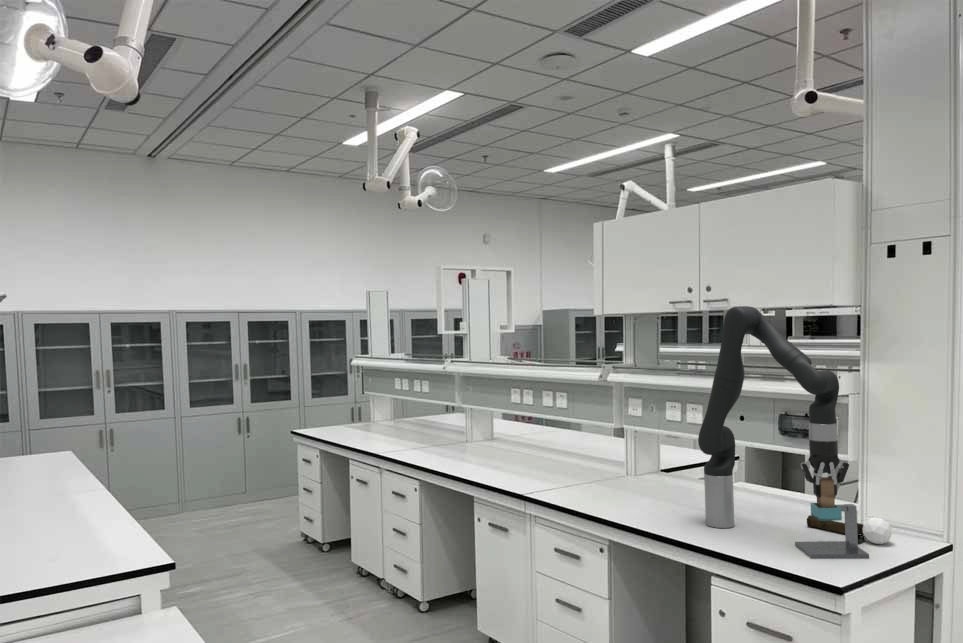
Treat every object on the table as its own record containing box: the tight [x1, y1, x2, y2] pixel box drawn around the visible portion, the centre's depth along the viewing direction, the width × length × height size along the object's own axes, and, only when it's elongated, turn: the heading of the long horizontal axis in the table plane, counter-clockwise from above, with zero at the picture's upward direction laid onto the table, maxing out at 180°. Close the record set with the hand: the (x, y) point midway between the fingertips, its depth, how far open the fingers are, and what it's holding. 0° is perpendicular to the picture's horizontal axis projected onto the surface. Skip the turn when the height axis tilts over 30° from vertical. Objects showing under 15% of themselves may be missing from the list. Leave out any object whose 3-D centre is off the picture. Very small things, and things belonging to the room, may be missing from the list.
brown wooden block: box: [816, 476, 836, 508], centre depth 201 cm, size 4×4×10 cm
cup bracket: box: [794, 502, 870, 560], centre depth 201 cm, size 12×16×14 cm
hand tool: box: [806, 514, 868, 540], centre depth 219 cm, size 19×4×5 cm, turn 32°
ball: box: [862, 517, 893, 545], centre depth 208 cm, size 8×8×8 cm
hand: (825, 496), depth 201 cm, fingers closed on brown wooden block, 3 cm apart
